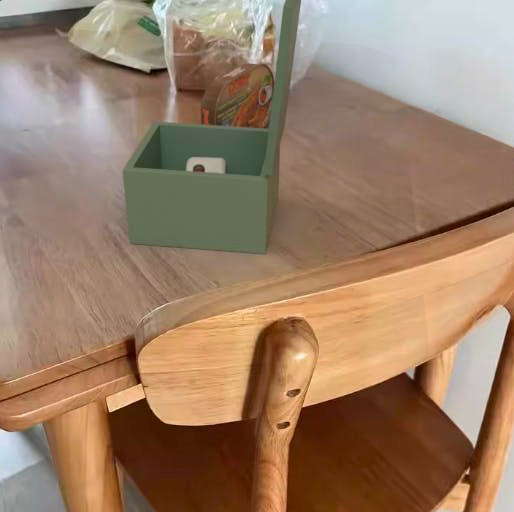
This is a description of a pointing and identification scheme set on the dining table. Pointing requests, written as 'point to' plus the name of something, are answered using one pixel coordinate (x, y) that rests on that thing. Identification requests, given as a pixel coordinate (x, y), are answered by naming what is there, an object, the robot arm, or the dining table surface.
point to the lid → (282, 81)
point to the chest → (201, 189)
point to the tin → (239, 98)
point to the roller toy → (206, 165)
